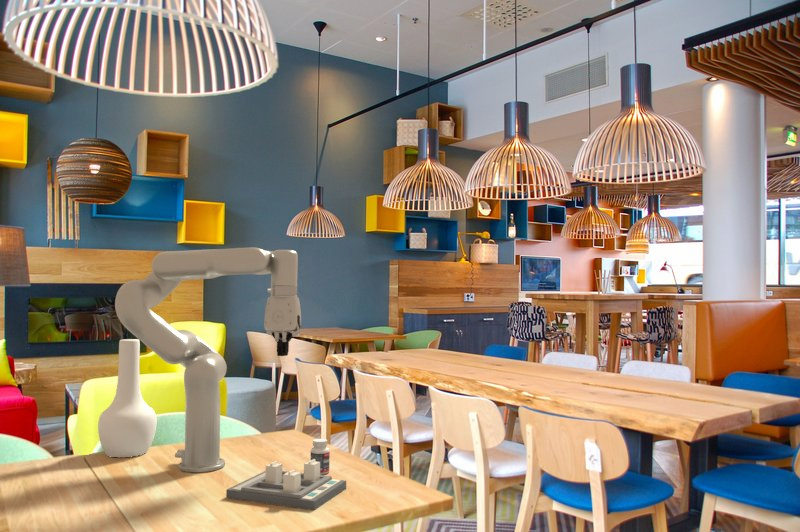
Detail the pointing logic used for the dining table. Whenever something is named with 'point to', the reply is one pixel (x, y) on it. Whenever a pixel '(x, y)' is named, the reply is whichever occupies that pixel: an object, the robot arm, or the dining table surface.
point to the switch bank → (273, 493)
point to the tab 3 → (312, 470)
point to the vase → (127, 409)
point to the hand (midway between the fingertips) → (282, 355)
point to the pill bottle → (321, 454)
